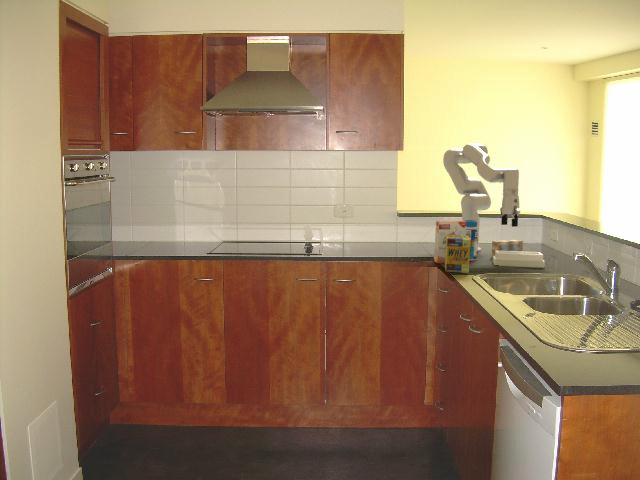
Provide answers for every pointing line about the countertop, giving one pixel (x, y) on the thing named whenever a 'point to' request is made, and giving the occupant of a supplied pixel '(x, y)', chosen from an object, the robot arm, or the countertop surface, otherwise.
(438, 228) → the cracker box
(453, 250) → the protein box
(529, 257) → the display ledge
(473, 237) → the beverage bottle
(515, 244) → the picture frame
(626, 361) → the countertop surface
